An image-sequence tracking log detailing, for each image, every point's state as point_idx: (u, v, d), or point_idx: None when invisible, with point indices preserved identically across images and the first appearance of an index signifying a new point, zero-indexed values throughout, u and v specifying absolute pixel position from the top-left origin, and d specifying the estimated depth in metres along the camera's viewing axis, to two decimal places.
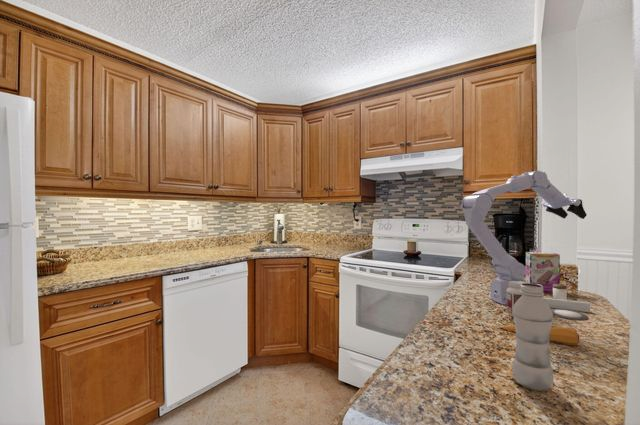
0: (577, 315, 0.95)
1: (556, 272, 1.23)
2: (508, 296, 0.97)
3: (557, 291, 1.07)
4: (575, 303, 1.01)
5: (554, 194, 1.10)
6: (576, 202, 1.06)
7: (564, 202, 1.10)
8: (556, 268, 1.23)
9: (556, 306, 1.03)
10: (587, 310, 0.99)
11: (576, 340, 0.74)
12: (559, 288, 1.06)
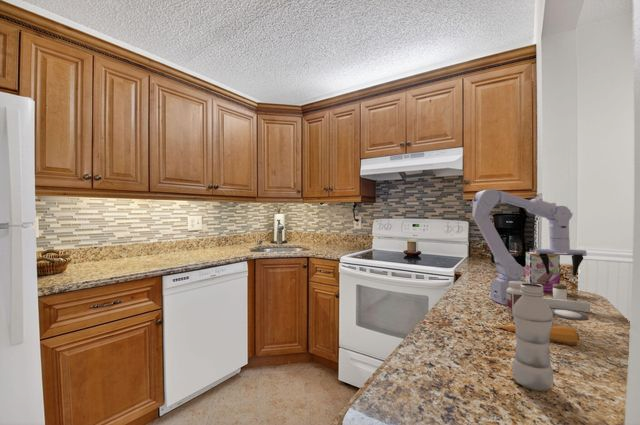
0: (577, 315, 0.95)
1: (556, 272, 1.23)
2: (508, 296, 0.97)
3: (557, 291, 1.07)
4: (575, 303, 1.01)
5: (561, 237, 1.06)
6: None
7: (570, 250, 1.06)
8: (556, 268, 1.23)
9: (556, 306, 1.03)
10: (587, 310, 0.99)
11: (576, 339, 0.74)
12: (559, 288, 1.06)
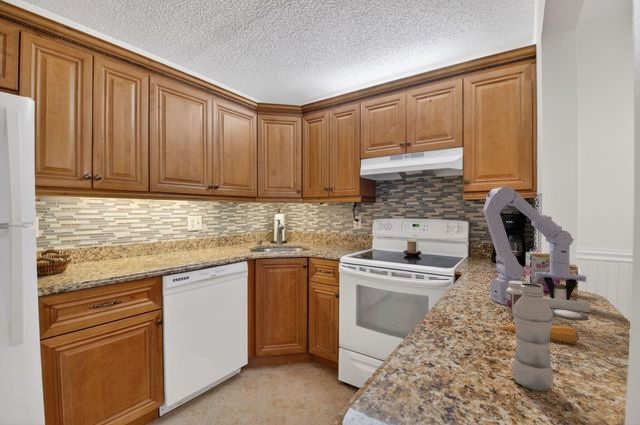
0: (577, 315, 0.95)
1: None
2: (508, 296, 0.97)
3: (557, 291, 1.07)
4: (575, 303, 1.01)
5: (561, 262, 1.05)
6: None
7: (570, 275, 1.06)
8: None
9: (556, 306, 1.03)
10: (587, 310, 0.99)
11: (576, 338, 0.75)
12: (559, 288, 1.06)
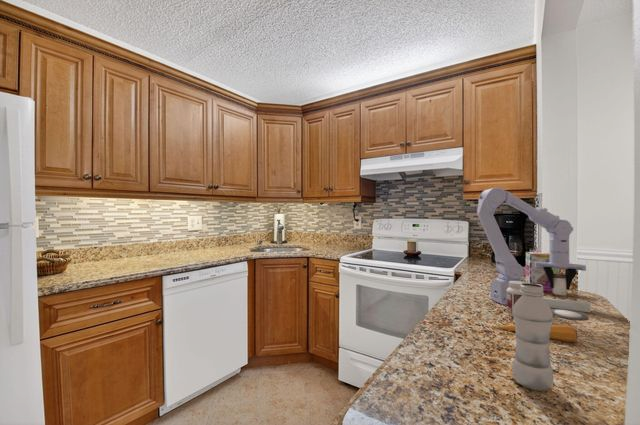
0: (577, 315, 0.95)
1: (556, 272, 1.23)
2: (508, 296, 0.97)
3: (556, 281, 1.07)
4: (575, 303, 1.01)
5: (561, 251, 1.05)
6: None
7: (569, 264, 1.06)
8: None
9: (556, 306, 1.03)
10: (587, 310, 0.99)
11: (575, 337, 0.76)
12: (559, 277, 1.06)
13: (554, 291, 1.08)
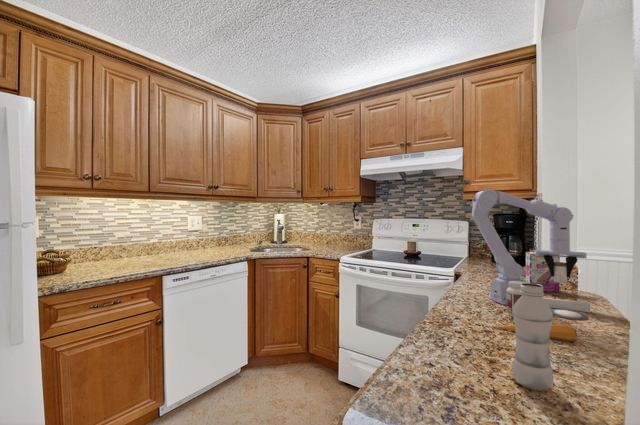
0: (577, 315, 0.95)
1: None
2: (508, 296, 0.97)
3: (557, 269, 1.06)
4: (575, 303, 1.01)
5: (560, 239, 1.05)
6: None
7: (570, 252, 1.05)
8: None
9: (556, 306, 1.03)
10: (587, 310, 0.99)
11: (574, 336, 0.76)
12: (559, 265, 1.06)
13: (554, 279, 1.07)
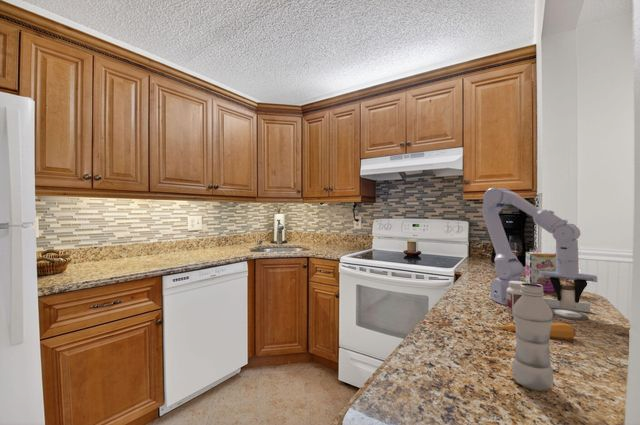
0: (577, 315, 0.95)
1: None
2: (508, 296, 0.97)
3: (564, 293, 0.96)
4: (575, 303, 1.01)
5: (561, 259, 0.96)
6: None
7: (579, 274, 0.95)
8: None
9: (556, 306, 1.03)
10: (587, 310, 0.99)
11: (573, 334, 0.77)
12: (567, 289, 0.95)
13: (561, 304, 0.97)
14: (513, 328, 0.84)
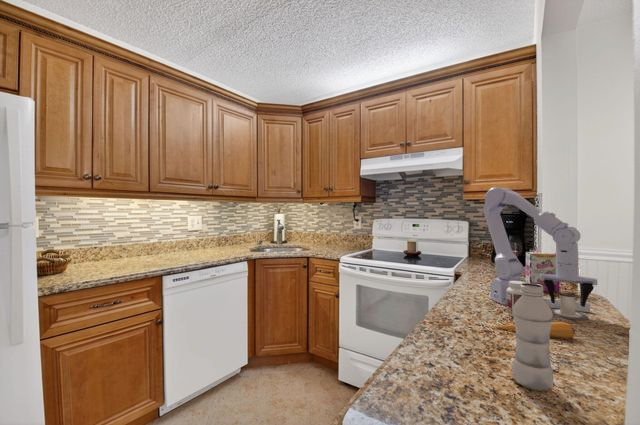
0: (577, 315, 0.95)
1: None
2: (508, 296, 0.97)
3: (564, 299, 0.96)
4: None
5: (561, 262, 0.96)
6: None
7: (579, 278, 0.95)
8: None
9: (556, 306, 1.03)
10: (587, 310, 0.99)
11: (572, 333, 0.78)
12: (567, 296, 0.95)
13: (562, 311, 0.97)
14: (513, 328, 0.84)
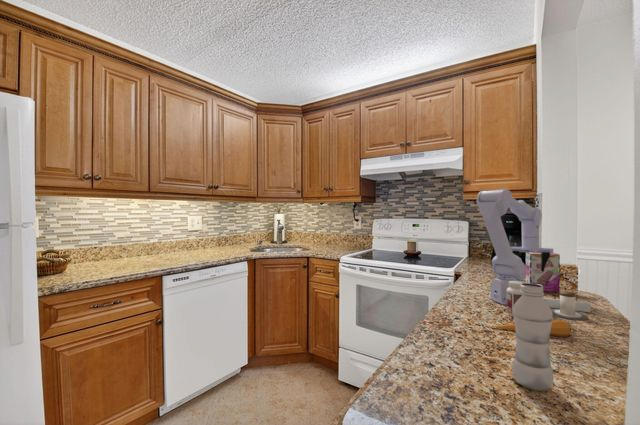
0: (577, 315, 0.95)
1: (556, 272, 1.23)
2: (508, 296, 0.97)
3: (564, 299, 0.96)
4: None
5: (536, 236, 1.16)
6: None
7: (539, 248, 1.17)
8: (556, 268, 1.23)
9: (556, 306, 1.03)
10: (587, 310, 0.99)
11: (569, 331, 0.79)
12: (567, 296, 0.95)
13: (562, 311, 0.97)
14: (512, 327, 0.84)
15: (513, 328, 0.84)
